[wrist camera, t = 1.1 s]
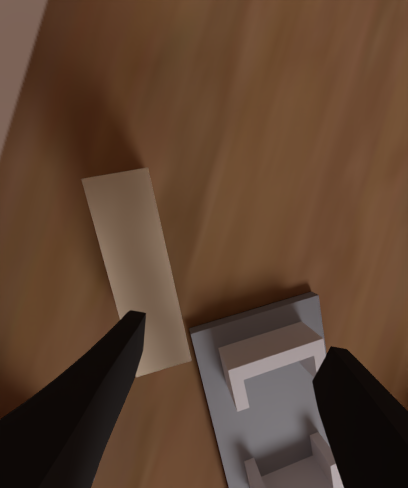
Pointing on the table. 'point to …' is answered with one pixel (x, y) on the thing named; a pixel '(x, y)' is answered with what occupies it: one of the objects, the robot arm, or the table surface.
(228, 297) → the table surface
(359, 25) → the table surface
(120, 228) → the beige rectangular block
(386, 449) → the robot arm
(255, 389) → the board
